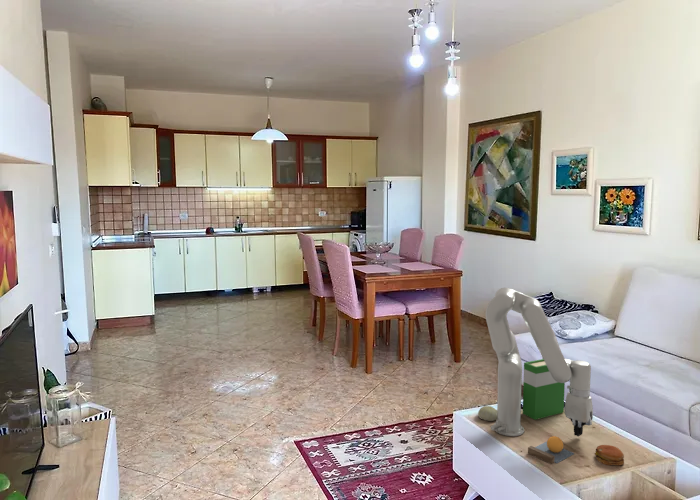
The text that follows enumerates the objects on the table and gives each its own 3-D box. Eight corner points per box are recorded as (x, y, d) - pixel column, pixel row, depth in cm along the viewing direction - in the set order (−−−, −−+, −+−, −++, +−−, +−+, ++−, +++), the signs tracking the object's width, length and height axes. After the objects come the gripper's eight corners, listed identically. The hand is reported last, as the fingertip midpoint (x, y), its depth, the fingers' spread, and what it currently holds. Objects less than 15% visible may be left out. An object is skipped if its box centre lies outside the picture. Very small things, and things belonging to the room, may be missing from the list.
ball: (558, 458, 196) (556, 446, 194) (544, 451, 201) (542, 439, 199) (567, 449, 199) (565, 437, 197) (553, 442, 204) (551, 430, 202)
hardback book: (551, 406, 242) (552, 357, 239) (563, 412, 235) (565, 361, 233) (522, 413, 234) (524, 362, 232) (534, 419, 228) (536, 367, 225)
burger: (629, 464, 190) (630, 452, 189) (610, 469, 187) (610, 456, 186) (607, 451, 199) (608, 440, 199) (589, 456, 196) (589, 444, 195)
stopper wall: (551, 464, 190) (551, 457, 190) (527, 453, 198) (528, 447, 198) (554, 462, 191) (554, 456, 191) (530, 451, 199) (531, 445, 199)
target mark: (556, 463, 190) (556, 463, 190) (528, 450, 200) (528, 450, 200) (574, 453, 197) (574, 453, 197) (546, 442, 207) (546, 441, 207)
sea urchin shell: (496, 409, 235) (499, 402, 229) (498, 426, 230) (501, 419, 224) (476, 408, 236) (478, 401, 230) (477, 425, 231) (480, 418, 225)
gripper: (557, 388, 212) (556, 430, 213) (592, 399, 200) (590, 444, 201) (567, 384, 216) (566, 426, 218) (602, 395, 204) (600, 439, 206)
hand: (578, 434), depth 210 cm, fingers closed
